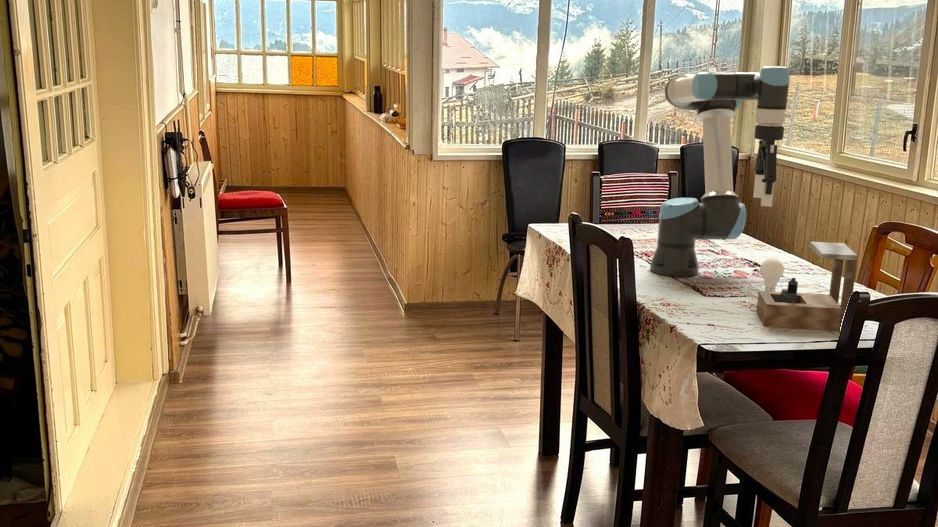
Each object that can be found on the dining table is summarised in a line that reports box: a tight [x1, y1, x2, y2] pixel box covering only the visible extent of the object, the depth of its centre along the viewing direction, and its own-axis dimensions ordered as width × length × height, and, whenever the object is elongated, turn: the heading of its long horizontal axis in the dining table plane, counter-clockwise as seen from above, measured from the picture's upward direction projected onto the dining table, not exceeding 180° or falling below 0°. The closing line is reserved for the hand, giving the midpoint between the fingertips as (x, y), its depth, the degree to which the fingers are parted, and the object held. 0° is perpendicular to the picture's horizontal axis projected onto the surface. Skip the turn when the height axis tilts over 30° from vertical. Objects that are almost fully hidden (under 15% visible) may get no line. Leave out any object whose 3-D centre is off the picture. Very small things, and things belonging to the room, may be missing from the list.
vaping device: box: [779, 277, 799, 303], centre depth 229 cm, size 3×5×12 cm, turn 17°
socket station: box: [756, 241, 859, 332], centre depth 227 cm, size 20×14×20 cm
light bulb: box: [759, 257, 785, 292], centre depth 253 cm, size 7×7×11 cm
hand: (762, 201), depth 241 cm, fingers open, 13 cm apart
